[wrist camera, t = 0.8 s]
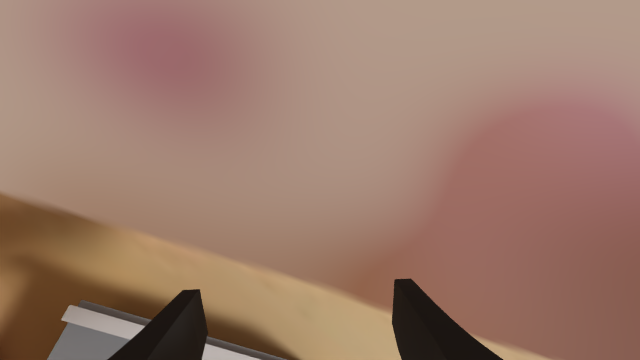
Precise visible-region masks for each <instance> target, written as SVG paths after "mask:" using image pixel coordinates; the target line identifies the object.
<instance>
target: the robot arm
mask: <svg viewBox="0 0 640 360" xmlns="http://www.w3.org/2000/svg"><path fill="white" fill-rule="evenodd" d="M392 325H393V329H394V334H395V338H396V342H397V346H398V350H399V353H400V356H401V359H402V360H503V359H502V358H500V357H499V356H497V355H496V354H495V353H493V352H492V351H490V350H489V349H488V348H486V347H485V346H484V345H482V344H481V343H480V342H478V341H477V340H476V339H475V338H473V337H472V336H471V335H470V334H468V333H467V332H466V331H465V330H464V329H463V328H461V327H460V326H459V325H458V324H457V323H456V322H454V321H453V320H452V319H451V318H450V317H449V316H448V315H447V314H446V313H445V312H444V311H443V310H441V308H440V307H438V306H437V305H436V304H435V303H434V302H433V301H432V300H431V299H430V298H429V297H428V296H427V294H426V293H424V292H423V290H422V289H420V287H419V286H418V285H417V284H416V283H415V282H414V281H413V280H412V279H396V280H395V282H394V298H393V315H392ZM207 335H208V331H207V325H206V320H205V315H204V310H203V304H202V299H201V294H200V289H196V290H183V291H182V292H180V293H179V294H178V295H177V296H176V297H175V298H174V299H173V300H172V301H171V302H170V303H169V304H168V305H167V306H166V307H165V308H164V309H163V310H162V311H161V312H160V313H159V314H158V315H157V316H156V317H155V318H154V319H153V320H151V321H150V322H149V323H148V324H147V325H146V326H145V327H144V328H143V329H142V330H141V331H140V332H139V333H138V334H136V335H135V336H134V337H133V338H132V339H131V340H130V341H128V342H127V343H126V344H125V345H124V346H123V347H122V348H120V349H119V350H118V351H117V352H116V353H115V354H113V355H112V356H111V357H110V358H109V359H107V360H202V356H203V352H204V348H205V344H206V339H207Z"/></svg>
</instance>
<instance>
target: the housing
mask: <svg viewBox="0 0 640 360" xmlns="http://www.w3.org/2000/svg"><path fill="white" fill-rule="evenodd" d="M61 320H62V321H66V322H68V324H67V326H66V327H65V329H64V331H63V333H62V334H61V336H60V338H59V340H58V341H57V343H56V345H55V346H54V348H53V350H52V352H51V353H50V355H49V357H48V359H47V360H107V359H109V358H110V357H111V356H112V355H113V354H115V353H116V352H117V351H118V350H119V349H120V348H122V347H123V346H124V345H125V344H126V343H127V342H128V341H130V340H131V339H132V338H133V337H134V336H135V335H136V334H138V333H139V332H140V331H141V330H142V329H143V328H144V327H145V326H146V325H147V324H148V323H149V322H150V321H151V320H150V319H146V318H143V317H139V316H136V315H132V314H129V313H126V312H122V311H119V310H115V309H112V308H108V307H105V306H102V305H98V304H95V303H91V302H88V301H84V300H81V302H80V303H79V305H78V307H77V306H73V305H69V307H68V309H67V310H66V312H65V314H64V315H63V317H62V319H61ZM202 360H287V359H283V358H280V357H277V356H273V355H270V354H266V353H263V352H259V351H256V350H253V349H249V348H246V347H242V346H239V345H235V344H232V343H229V342H225V341H222V340H218V339H215V338H211V337H208V336H207V339H206V344H205V348H204V352H203V356H202Z"/></svg>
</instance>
